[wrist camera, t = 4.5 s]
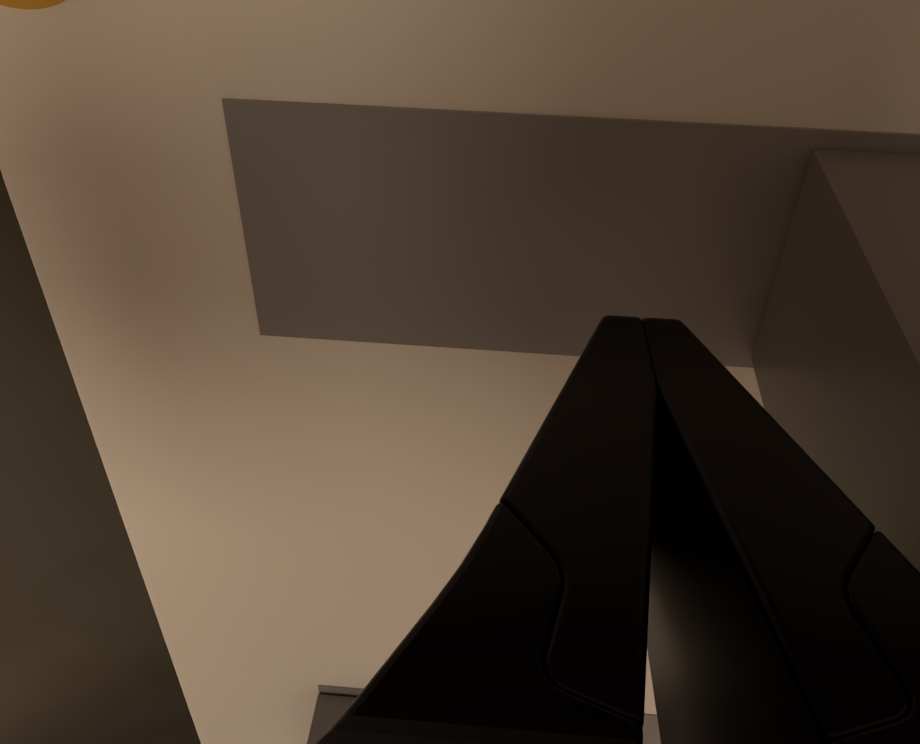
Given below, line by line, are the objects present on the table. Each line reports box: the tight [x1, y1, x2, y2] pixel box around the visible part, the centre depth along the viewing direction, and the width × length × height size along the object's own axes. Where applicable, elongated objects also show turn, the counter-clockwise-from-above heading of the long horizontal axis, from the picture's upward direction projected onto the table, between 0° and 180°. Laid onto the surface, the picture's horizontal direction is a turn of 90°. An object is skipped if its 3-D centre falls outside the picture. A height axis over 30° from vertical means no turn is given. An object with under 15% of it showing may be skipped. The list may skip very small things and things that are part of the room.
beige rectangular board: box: [0, 0, 920, 744], centre depth 15 cm, size 22×13×2 cm, turn 179°
